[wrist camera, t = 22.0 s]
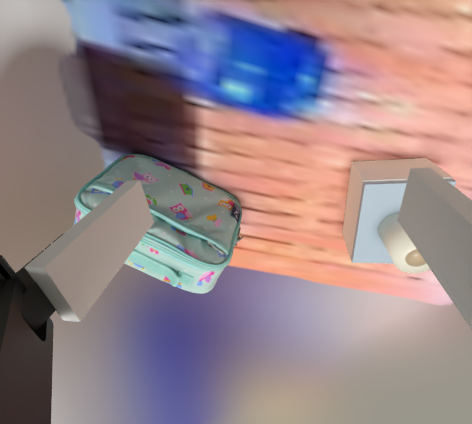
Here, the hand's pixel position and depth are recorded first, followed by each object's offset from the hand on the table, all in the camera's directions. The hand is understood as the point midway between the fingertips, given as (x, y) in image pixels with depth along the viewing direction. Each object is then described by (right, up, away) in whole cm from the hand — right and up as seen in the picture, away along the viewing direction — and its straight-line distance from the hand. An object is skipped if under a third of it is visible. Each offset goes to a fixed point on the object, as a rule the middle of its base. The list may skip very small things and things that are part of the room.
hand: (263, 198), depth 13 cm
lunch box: (-12, +4, +42) cm, 43 cm away
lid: (+25, -3, +29) cm, 38 cm away
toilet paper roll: (+25, -3, +28) cm, 38 cm away
